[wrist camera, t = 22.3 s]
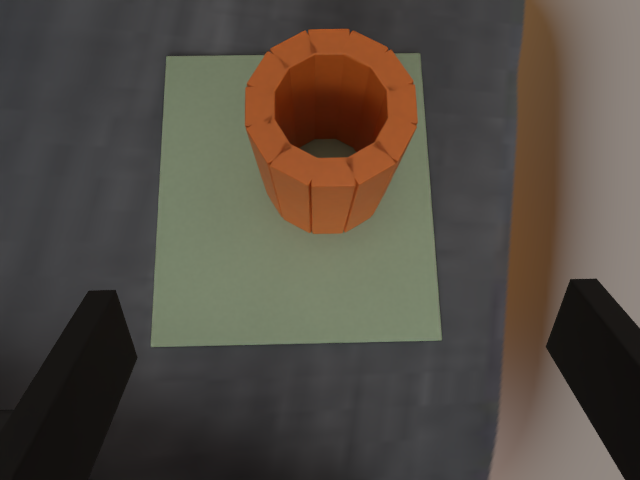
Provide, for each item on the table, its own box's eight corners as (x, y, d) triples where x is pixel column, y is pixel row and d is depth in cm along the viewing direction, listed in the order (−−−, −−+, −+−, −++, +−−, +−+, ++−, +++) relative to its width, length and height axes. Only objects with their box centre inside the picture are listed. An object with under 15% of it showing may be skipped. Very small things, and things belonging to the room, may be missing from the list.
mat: (152, 347, 28) (150, 347, 28) (167, 59, 33) (166, 55, 32) (440, 340, 29) (442, 340, 28) (418, 56, 33) (420, 52, 33)
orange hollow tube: (265, 235, 30) (243, 188, 20) (266, 121, 31) (245, 29, 22) (389, 232, 30) (422, 184, 20) (382, 119, 31) (411, 27, 22)
